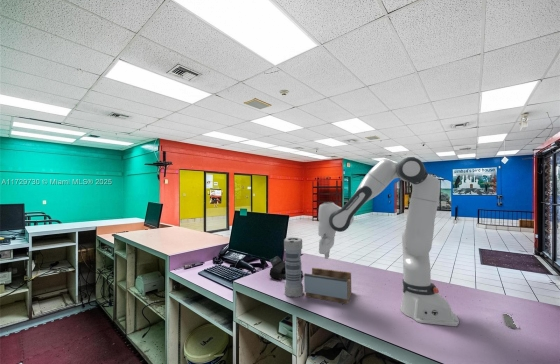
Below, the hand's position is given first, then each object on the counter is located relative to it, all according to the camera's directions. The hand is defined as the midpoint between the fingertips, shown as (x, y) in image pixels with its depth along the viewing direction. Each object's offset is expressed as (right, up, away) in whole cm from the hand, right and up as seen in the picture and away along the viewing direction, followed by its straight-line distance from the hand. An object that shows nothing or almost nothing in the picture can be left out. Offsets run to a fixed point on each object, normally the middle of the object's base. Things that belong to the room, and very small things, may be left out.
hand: (326, 258), depth 131 cm
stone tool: (+74, -20, -26) cm, 81 cm away
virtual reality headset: (-20, -22, +29) cm, 41 cm away
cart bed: (+1, -20, +2) cm, 21 cm away
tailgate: (-2, -17, -5) cm, 18 cm away
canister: (-18, -21, +4) cm, 27 cm away
